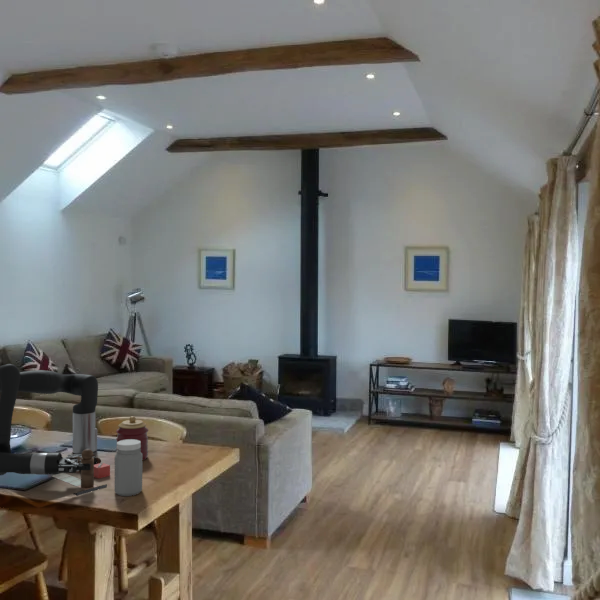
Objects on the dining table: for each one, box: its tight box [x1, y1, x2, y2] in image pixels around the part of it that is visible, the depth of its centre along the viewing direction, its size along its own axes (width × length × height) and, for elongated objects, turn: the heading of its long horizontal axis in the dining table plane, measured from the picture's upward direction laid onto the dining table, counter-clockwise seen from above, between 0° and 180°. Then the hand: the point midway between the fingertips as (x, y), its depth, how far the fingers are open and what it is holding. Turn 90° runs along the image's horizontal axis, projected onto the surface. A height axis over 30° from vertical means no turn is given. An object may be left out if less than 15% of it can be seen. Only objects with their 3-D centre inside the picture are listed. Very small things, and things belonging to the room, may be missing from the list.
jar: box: [113, 439, 143, 497], centre depth 230 cm, size 10×10×18 cm
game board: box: [51, 473, 108, 497], centre depth 238 cm, size 12×23×1 cm, turn 51°
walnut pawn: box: [80, 449, 95, 489], centre depth 232 cm, size 4×4×14 cm
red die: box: [94, 461, 111, 480], centre depth 245 cm, size 5×5×6 cm
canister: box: [115, 415, 149, 461], centre depth 271 cm, size 13×13×18 cm
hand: (93, 463), depth 232 cm, fingers open, 8 cm apart
